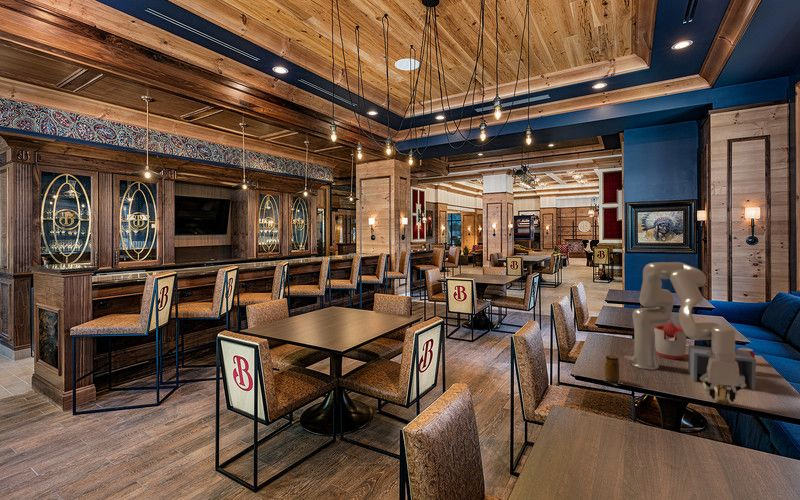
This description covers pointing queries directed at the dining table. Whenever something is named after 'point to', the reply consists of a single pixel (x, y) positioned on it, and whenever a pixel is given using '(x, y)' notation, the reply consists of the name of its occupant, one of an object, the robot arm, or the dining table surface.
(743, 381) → the grey block
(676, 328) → the citrus juicer
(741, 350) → the soda can
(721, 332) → the robot arm
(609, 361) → the condiment
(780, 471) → the dining table surface
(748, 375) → the cubby shelf
